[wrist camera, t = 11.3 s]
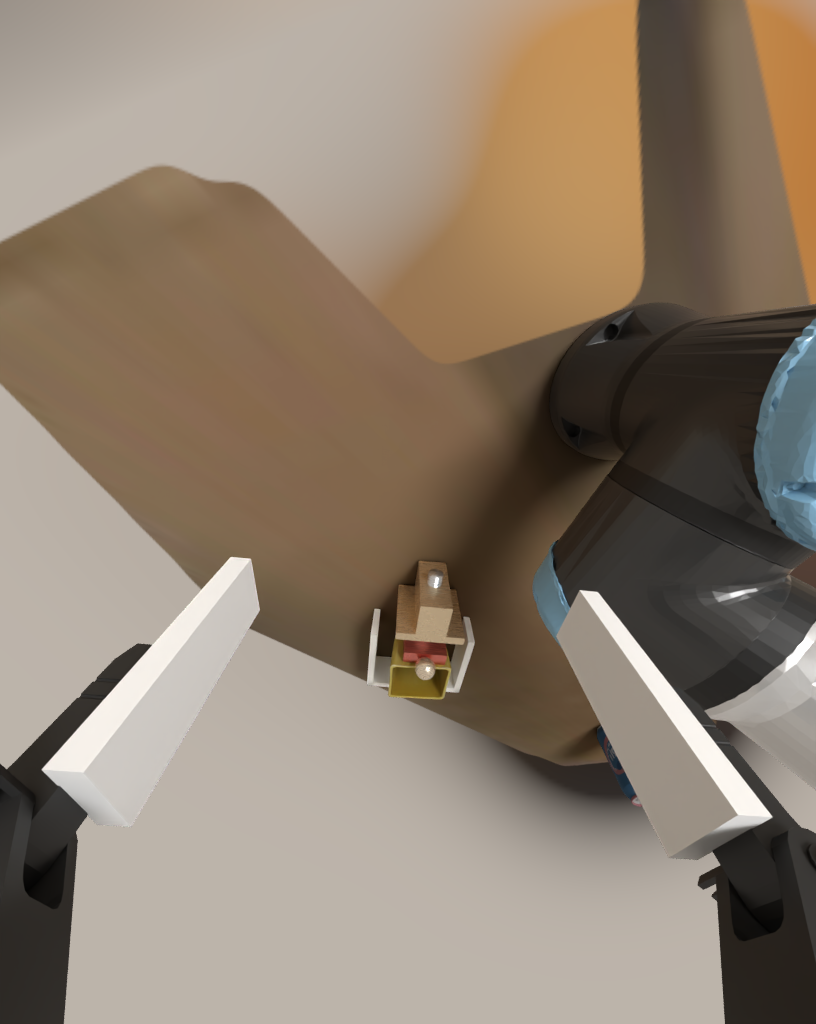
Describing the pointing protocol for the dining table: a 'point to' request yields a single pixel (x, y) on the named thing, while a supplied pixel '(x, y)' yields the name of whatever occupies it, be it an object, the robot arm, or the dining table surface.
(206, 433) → the dining table surface
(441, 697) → the flower pot
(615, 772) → the soda can
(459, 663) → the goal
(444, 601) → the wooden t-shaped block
